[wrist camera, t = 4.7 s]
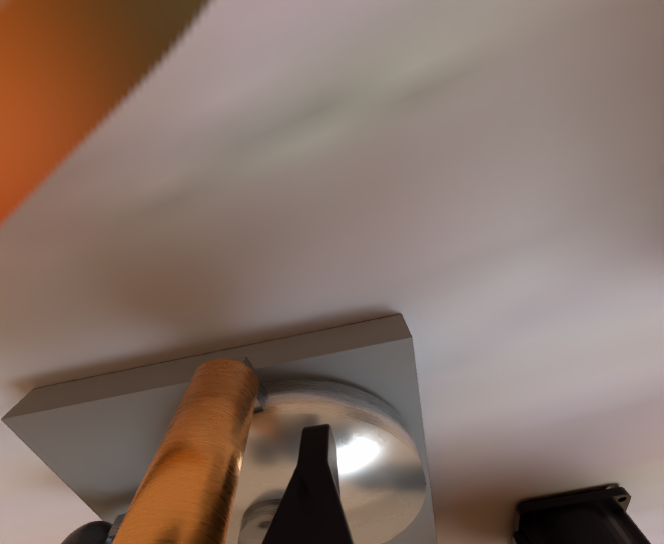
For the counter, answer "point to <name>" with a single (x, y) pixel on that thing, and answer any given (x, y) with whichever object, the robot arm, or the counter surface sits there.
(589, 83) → the counter surface
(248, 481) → the dial
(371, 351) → the stand
